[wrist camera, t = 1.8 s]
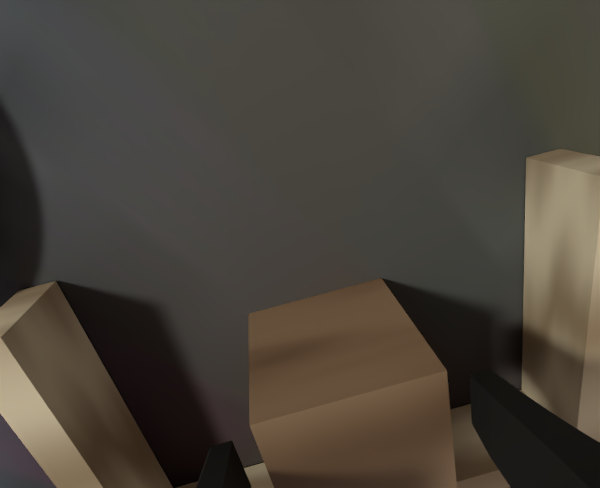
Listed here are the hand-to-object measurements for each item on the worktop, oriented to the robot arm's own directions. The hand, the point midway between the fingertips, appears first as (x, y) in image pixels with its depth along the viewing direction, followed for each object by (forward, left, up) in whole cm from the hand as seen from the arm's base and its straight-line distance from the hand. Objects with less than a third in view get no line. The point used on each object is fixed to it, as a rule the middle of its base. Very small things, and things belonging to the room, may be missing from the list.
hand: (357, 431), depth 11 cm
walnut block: (0, 0, -4) cm, 4 cm away
